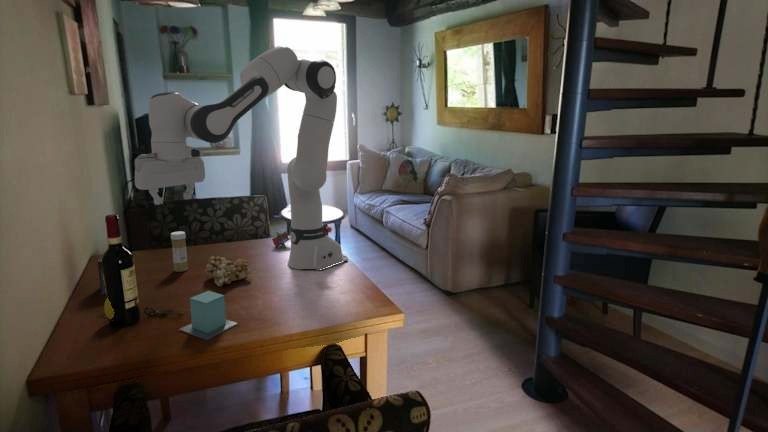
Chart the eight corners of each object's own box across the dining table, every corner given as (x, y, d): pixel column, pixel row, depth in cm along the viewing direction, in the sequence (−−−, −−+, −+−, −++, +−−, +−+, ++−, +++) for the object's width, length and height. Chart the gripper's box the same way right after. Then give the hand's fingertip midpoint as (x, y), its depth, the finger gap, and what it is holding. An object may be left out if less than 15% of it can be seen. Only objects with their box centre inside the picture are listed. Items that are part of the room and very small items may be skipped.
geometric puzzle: (273, 246, 184) (283, 228, 186) (265, 242, 189) (275, 225, 191) (286, 254, 189) (296, 237, 190) (278, 249, 194) (288, 233, 196)
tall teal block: (210, 319, 123) (208, 290, 122) (226, 324, 121) (224, 295, 119) (192, 327, 118) (189, 298, 117) (208, 333, 116) (205, 303, 114)
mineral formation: (220, 290, 144) (193, 276, 152) (255, 285, 155) (228, 272, 163) (223, 265, 143) (196, 253, 151) (258, 262, 154) (231, 250, 162)
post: (211, 315, 126) (209, 294, 125) (237, 324, 122) (236, 302, 120) (179, 330, 118) (177, 307, 116) (206, 340, 113) (205, 316, 112)
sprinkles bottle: (185, 267, 164) (182, 230, 161) (189, 270, 161) (187, 233, 158) (172, 269, 162) (168, 232, 159) (175, 273, 158) (172, 235, 155)
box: (122, 292, 141) (118, 258, 139) (100, 295, 139) (96, 261, 136) (123, 283, 148) (120, 251, 146) (103, 286, 146) (99, 253, 143)
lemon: (112, 317, 124) (109, 289, 122) (133, 316, 125) (130, 288, 123) (101, 326, 119) (98, 297, 117) (124, 326, 119) (121, 297, 118)
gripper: (141, 155, 118) (146, 208, 121) (207, 150, 135) (210, 197, 138) (126, 154, 121) (131, 206, 124) (192, 149, 138) (195, 195, 141)
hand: (173, 201), depth 131 cm, fingers open, 8 cm apart
